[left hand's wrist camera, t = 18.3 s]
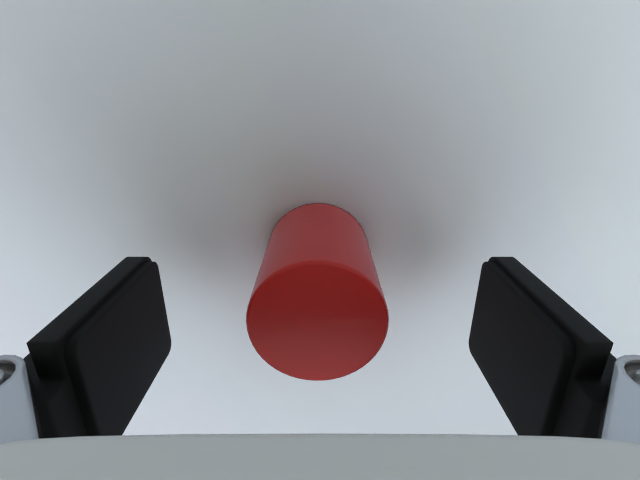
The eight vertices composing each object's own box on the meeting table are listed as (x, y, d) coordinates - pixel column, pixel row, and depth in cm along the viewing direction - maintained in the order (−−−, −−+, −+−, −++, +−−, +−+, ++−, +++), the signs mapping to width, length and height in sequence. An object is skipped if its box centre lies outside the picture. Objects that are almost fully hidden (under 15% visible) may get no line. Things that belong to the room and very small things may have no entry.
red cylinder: (257, 214, 13) (226, 277, 9) (357, 192, 13) (376, 247, 9) (283, 300, 14) (267, 392, 10) (374, 282, 14) (399, 369, 10)
